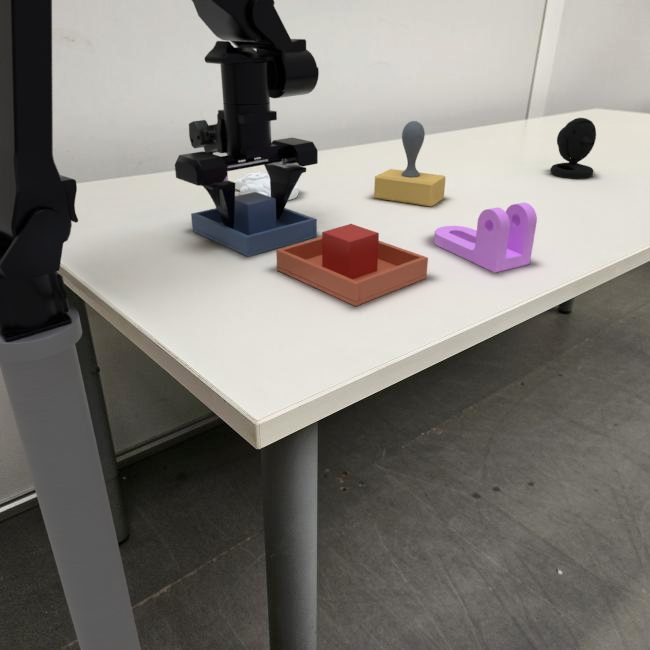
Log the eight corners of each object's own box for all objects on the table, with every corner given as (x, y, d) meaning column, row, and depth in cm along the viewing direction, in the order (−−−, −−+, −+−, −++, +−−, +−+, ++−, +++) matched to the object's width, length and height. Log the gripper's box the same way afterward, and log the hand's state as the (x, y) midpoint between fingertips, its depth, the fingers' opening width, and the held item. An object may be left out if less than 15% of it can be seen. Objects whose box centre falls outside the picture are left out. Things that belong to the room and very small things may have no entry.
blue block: (249, 238, 80) (247, 204, 78) (230, 230, 83) (227, 197, 81) (277, 231, 82) (275, 198, 80) (257, 223, 85) (255, 191, 83)
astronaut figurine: (269, 181, 108) (269, 164, 107) (308, 196, 99) (308, 178, 98) (225, 189, 103) (224, 171, 102) (262, 205, 95) (261, 186, 93)
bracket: (529, 264, 73) (539, 206, 70) (494, 272, 70) (502, 214, 67) (458, 233, 83) (463, 182, 80) (425, 240, 80) (429, 187, 77)
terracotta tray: (355, 306, 62) (355, 283, 61) (276, 270, 71) (275, 249, 70) (426, 278, 69) (428, 257, 68) (346, 248, 78) (347, 229, 77)
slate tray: (248, 256, 75) (246, 237, 74) (192, 231, 84) (190, 213, 83) (317, 237, 82) (316, 218, 80) (258, 215, 90) (258, 198, 89)
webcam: (571, 167, 118) (581, 113, 113) (602, 176, 112) (614, 119, 107) (540, 172, 115) (549, 116, 110) (570, 180, 109) (581, 122, 104)
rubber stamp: (444, 198, 98) (451, 121, 93) (431, 207, 94) (437, 126, 89) (388, 190, 103) (391, 116, 97) (373, 198, 98) (376, 121, 93)
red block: (349, 280, 67) (349, 241, 65) (322, 269, 70) (321, 231, 68) (377, 270, 70) (379, 232, 68) (350, 260, 73) (351, 223, 71)
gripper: (268, 90, 86) (272, 199, 93) (146, 102, 75) (161, 225, 82) (320, 98, 78) (320, 216, 86) (193, 112, 67) (205, 246, 75)
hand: (253, 224), depth 82 cm, fingers open, 7 cm apart
